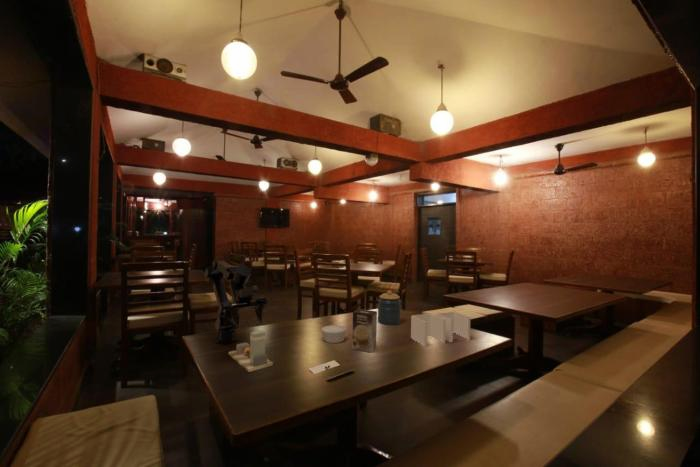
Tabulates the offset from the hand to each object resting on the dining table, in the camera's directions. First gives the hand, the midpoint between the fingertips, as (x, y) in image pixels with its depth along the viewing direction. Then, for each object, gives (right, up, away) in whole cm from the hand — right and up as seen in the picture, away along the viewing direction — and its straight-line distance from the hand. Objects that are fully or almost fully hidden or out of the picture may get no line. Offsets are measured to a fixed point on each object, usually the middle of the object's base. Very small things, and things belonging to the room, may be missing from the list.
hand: (249, 324), depth 122 cm
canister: (+61, -14, +54) cm, 82 cm away
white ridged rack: (0, -14, 0) cm, 14 cm away
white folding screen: (+81, -15, +26) cm, 86 cm away
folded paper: (+32, -15, -10) cm, 37 cm away
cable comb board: (0, -14, 0) cm, 14 cm away
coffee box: (+45, -14, +12) cm, 49 cm away
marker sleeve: (+5, -12, -6) cm, 14 cm away
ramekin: (+31, -14, +24) cm, 42 cm away
